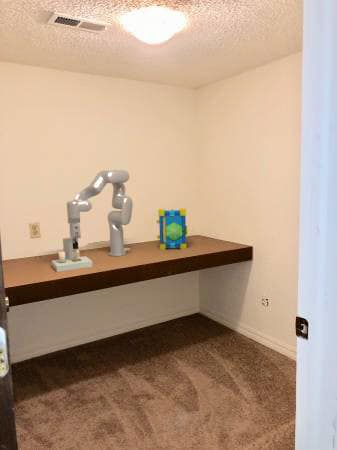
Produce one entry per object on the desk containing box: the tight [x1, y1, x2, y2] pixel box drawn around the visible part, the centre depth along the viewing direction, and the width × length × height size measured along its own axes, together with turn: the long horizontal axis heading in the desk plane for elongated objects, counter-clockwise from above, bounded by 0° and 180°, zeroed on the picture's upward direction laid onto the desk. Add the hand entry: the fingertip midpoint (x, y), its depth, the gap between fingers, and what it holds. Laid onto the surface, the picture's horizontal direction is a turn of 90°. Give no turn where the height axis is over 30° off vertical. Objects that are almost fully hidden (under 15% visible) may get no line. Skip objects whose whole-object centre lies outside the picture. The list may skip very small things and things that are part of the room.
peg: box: [73, 249, 81, 262], centre depth 235 cm, size 4×4×10 cm
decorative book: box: [156, 207, 188, 251], centre depth 277 cm, size 14×23×30 cm, turn 89°
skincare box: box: [62, 237, 79, 259], centre depth 252 cm, size 8×6×15 cm
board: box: [51, 251, 93, 273], centre depth 233 cm, size 22×16×10 cm
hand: (75, 248), depth 234 cm, fingers closed
